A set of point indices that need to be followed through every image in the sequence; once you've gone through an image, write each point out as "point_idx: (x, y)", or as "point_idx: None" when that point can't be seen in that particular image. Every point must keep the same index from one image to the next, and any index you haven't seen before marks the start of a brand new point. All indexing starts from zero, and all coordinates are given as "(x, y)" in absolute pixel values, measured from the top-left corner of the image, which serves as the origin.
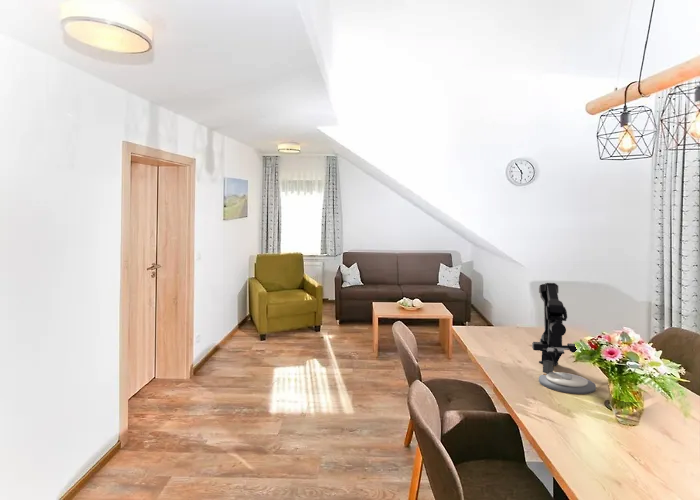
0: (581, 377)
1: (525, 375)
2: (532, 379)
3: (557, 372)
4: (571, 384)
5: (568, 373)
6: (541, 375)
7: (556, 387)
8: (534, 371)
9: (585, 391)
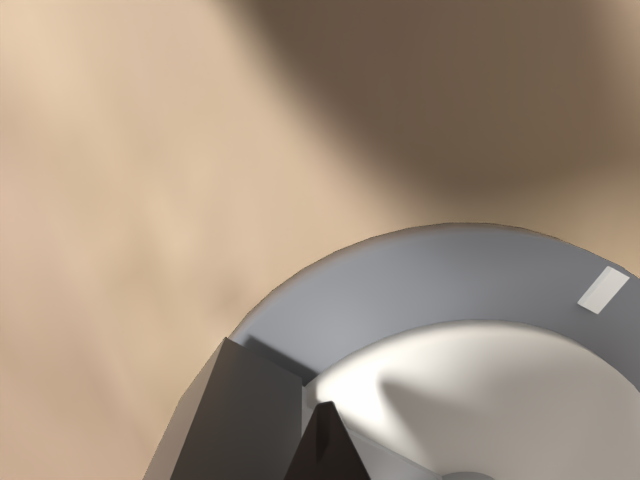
0: (621, 410)
1: (39, 395)
2: (145, 464)
3: (355, 374)
4: None
5: (492, 341)
6: None
7: None
8: (42, 185)
9: None
